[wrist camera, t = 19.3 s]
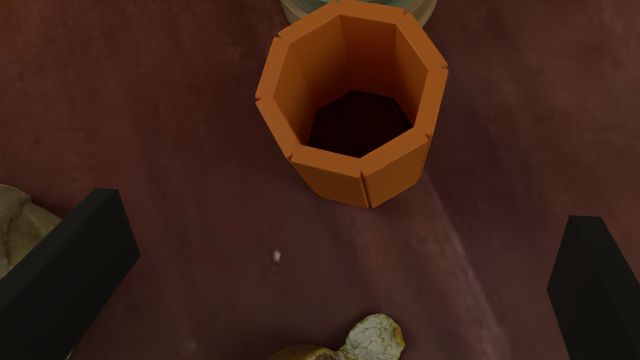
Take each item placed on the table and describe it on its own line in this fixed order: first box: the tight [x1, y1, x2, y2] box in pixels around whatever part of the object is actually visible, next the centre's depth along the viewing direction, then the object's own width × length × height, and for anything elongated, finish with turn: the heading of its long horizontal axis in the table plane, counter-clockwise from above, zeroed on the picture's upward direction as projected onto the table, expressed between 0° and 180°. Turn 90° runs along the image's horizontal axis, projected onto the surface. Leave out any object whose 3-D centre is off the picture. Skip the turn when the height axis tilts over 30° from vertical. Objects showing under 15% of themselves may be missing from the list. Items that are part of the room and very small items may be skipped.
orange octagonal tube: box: [255, 0, 449, 209], centre depth 23 cm, size 8×8×8 cm
